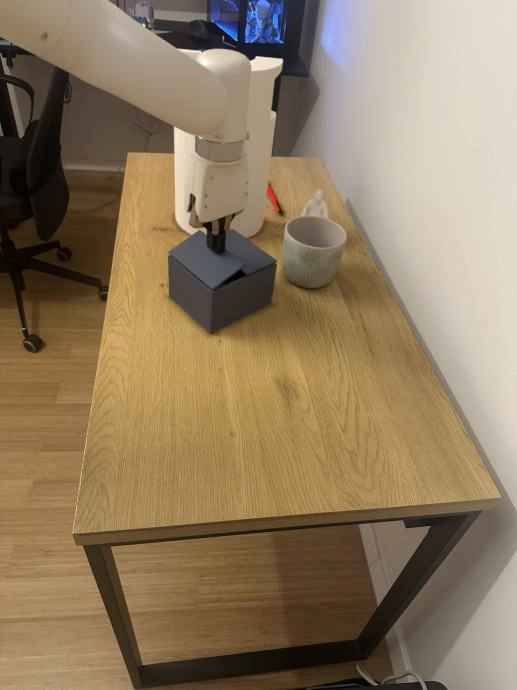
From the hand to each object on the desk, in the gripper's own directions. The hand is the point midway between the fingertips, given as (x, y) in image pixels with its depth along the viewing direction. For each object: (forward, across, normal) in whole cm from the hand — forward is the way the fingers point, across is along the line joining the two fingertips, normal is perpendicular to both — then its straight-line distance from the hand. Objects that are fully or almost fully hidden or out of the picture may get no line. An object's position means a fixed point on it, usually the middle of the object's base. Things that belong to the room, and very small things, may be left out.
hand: (215, 249), depth 88 cm
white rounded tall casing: (+13, -18, -21) cm, 31 cm away
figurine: (+13, -32, -5) cm, 34 cm away
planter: (+13, -22, +4) cm, 26 cm away
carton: (+12, -2, 0) cm, 13 cm away
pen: (+13, -39, -26) cm, 49 cm away
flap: (+1, +2, 0) cm, 2 cm away
